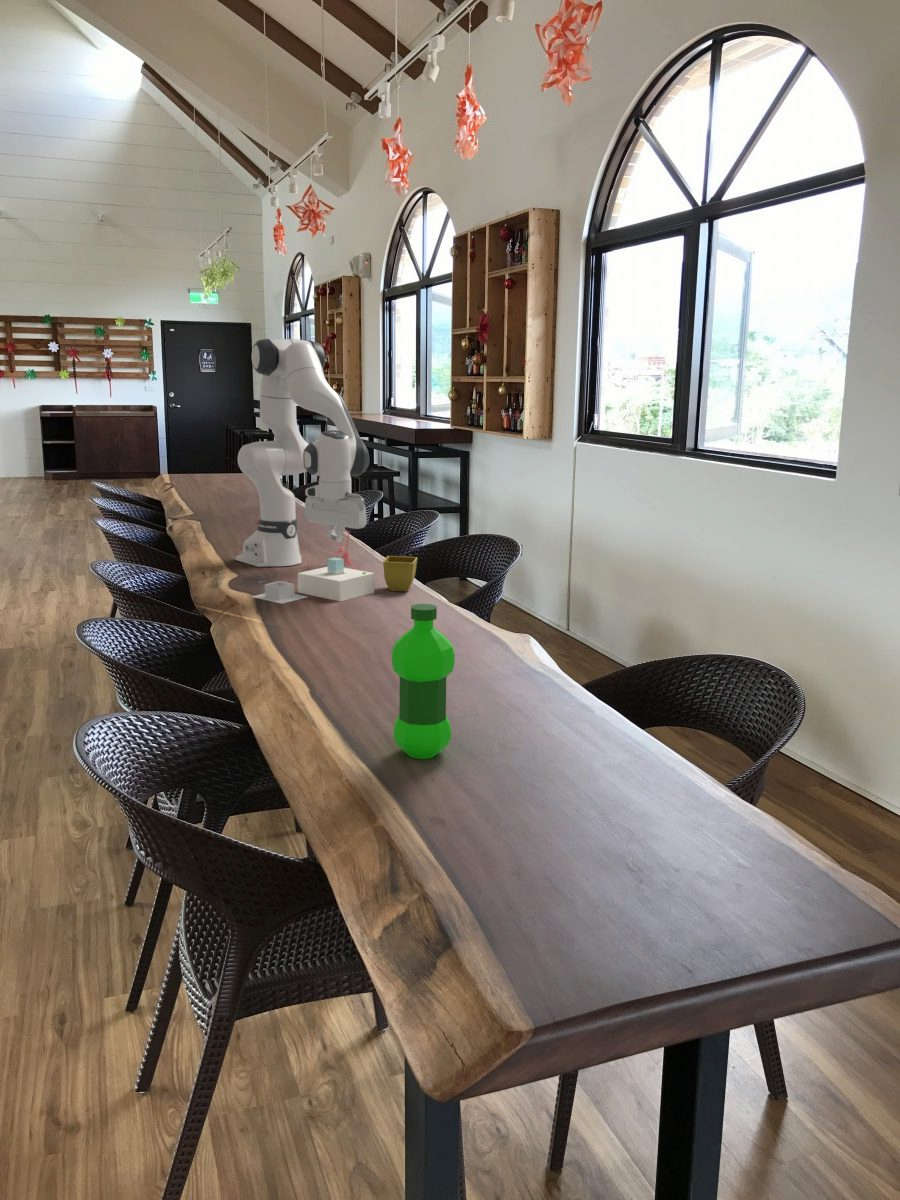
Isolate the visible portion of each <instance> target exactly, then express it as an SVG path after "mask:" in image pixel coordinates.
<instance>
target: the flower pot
mask: <svg viewBox="0 0 900 1200" xmlns="http://www.w3.org/2000/svg"><path fill="white" fill-rule="evenodd" d="M417 564H418V557H417V556H416V557H415V556H399V555H398V556H397V555H396V556H395V555H387V556H386V558H384V559H383V561H382V565H383V575H384V580H385V584H386V586H387V589H388V590H390V591H391V592H404V591H406V592H408V591H409V590H410V588H411V587H412V585H413V583H414V582H413V581H414V580H415V576H416V571H417V566H418V565H417Z"/></svg>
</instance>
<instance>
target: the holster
mask: <svg viewBox="0 0 900 1200" xmlns="http://www.w3.org/2000/svg"><path fill="white" fill-rule="evenodd" d="M250 597H251V598H255V599H260V600H264V601H268V602H273V603H277V604H285V603H290V602H294V601H299V600H301V599H306V598H308V596H307V595H302V594H297V593H295V584H294V583H290V582H286V581H274V582H270V583H266V584H264V593H260V594H257V595H252V596H250Z"/></svg>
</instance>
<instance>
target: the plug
mask: <svg viewBox="0 0 900 1200" xmlns="http://www.w3.org/2000/svg"><path fill="white" fill-rule="evenodd" d="M326 562H327V566H326V567H327V569H328V574H331V575H341V574H344V568H345V567H344V559H341V557H337V558H336V557H335V558H334V557H331V558H327V561H326Z"/></svg>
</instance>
